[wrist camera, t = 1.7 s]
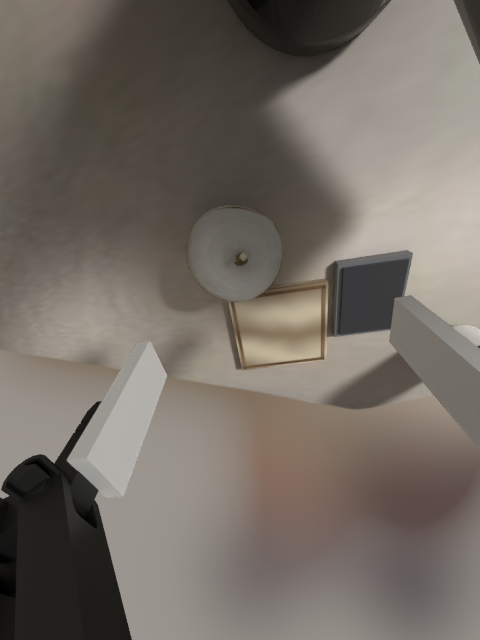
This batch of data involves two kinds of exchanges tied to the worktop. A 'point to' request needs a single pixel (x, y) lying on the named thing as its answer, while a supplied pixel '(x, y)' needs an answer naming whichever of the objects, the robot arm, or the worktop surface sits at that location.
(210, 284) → the decorative object
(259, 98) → the worktop surface
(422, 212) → the worktop surface
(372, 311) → the ink pad
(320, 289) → the board
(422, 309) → the robot arm
